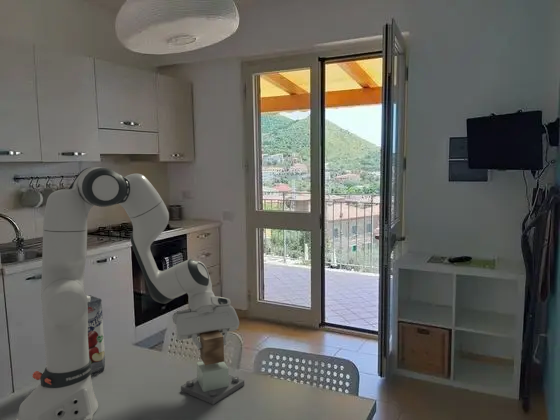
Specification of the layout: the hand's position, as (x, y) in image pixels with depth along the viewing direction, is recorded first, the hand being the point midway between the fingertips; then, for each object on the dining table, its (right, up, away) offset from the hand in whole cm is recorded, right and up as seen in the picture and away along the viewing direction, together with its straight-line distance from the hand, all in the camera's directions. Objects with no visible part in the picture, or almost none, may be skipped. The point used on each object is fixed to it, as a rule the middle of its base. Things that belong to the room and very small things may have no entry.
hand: (212, 346), depth 137 cm
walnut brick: (0, -4, +1) cm, 4 cm away
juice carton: (-45, -13, +14) cm, 49 cm away
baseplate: (0, -14, +2) cm, 14 cm away
